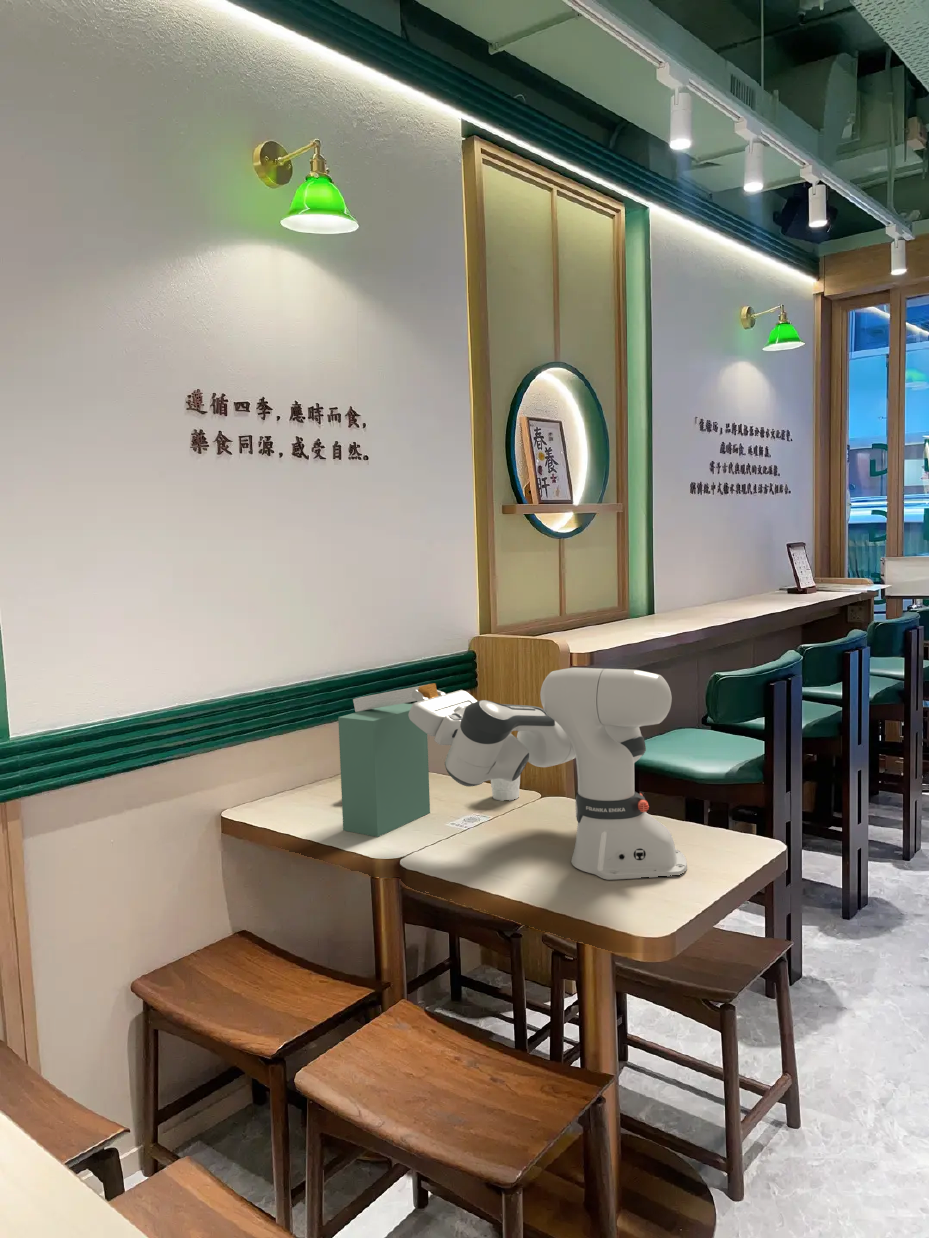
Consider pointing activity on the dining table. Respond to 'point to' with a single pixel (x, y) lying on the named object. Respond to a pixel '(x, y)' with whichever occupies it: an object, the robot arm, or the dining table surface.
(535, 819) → the dining table surface
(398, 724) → the green box
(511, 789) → the white cup
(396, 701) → the lever bar
